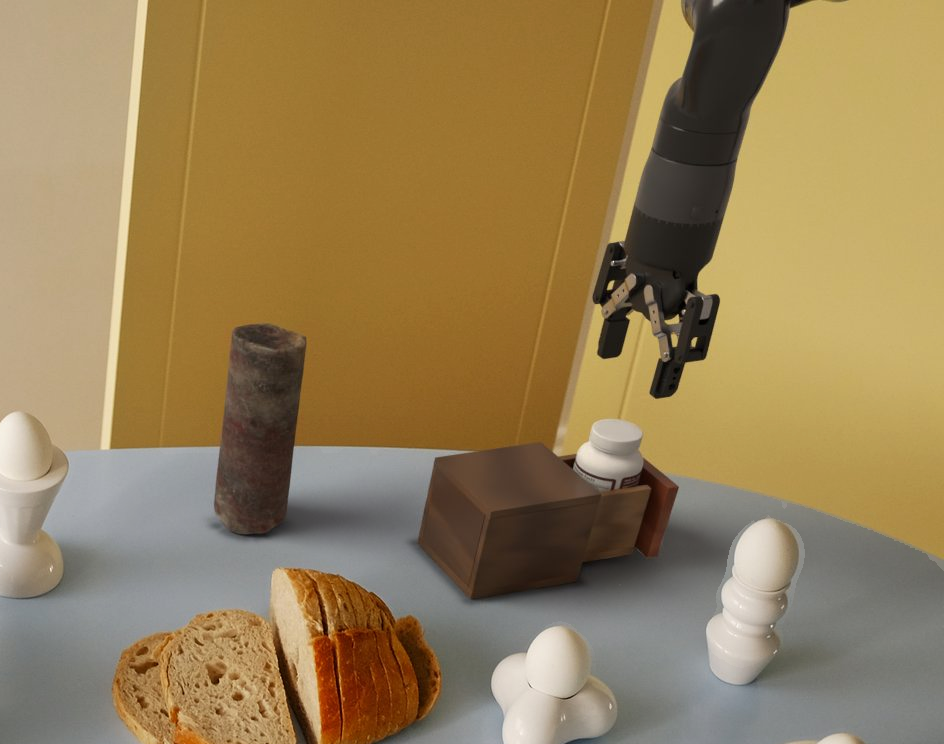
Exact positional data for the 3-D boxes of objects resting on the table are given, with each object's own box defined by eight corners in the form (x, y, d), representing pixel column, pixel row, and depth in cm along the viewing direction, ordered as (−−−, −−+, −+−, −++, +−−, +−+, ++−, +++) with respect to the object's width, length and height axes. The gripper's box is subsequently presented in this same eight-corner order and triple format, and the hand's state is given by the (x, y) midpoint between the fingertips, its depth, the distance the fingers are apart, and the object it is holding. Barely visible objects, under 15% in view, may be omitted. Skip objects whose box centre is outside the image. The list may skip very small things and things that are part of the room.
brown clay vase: (198, 506, 180) (219, 322, 168) (261, 493, 182) (286, 311, 170) (234, 542, 175) (258, 355, 162) (298, 529, 177) (327, 343, 164)
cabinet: (519, 526, 178) (541, 441, 172) (577, 581, 170) (601, 494, 164) (416, 543, 175) (434, 457, 169) (470, 599, 167) (491, 511, 161)
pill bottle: (609, 513, 176) (638, 413, 169) (633, 545, 171) (663, 444, 164) (549, 515, 176) (575, 415, 169) (570, 548, 171) (598, 446, 164)
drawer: (614, 508, 179) (634, 439, 174) (668, 555, 172) (690, 484, 167) (512, 524, 176) (529, 454, 171) (563, 572, 169) (582, 501, 164)
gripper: (769, 229, 148) (715, 405, 159) (669, 170, 159) (625, 339, 169) (692, 239, 147) (642, 416, 157) (596, 179, 157) (556, 348, 167)
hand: (633, 376), depth 163 cm, fingers open, 8 cm apart
